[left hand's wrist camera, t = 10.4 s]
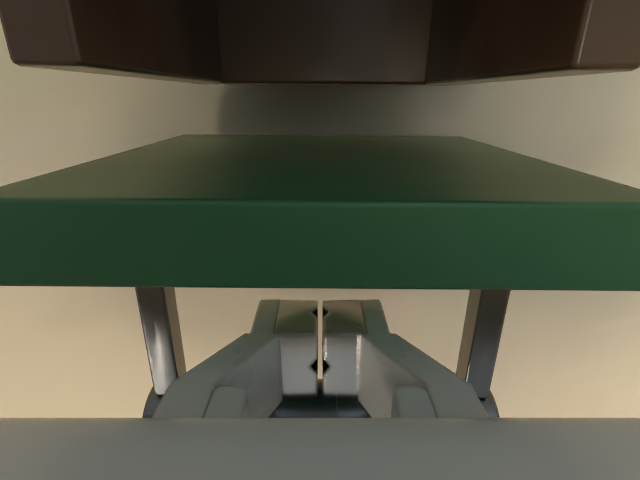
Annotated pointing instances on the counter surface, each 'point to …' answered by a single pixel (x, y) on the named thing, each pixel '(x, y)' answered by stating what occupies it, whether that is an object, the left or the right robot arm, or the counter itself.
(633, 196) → the drawer
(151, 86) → the counter surface
